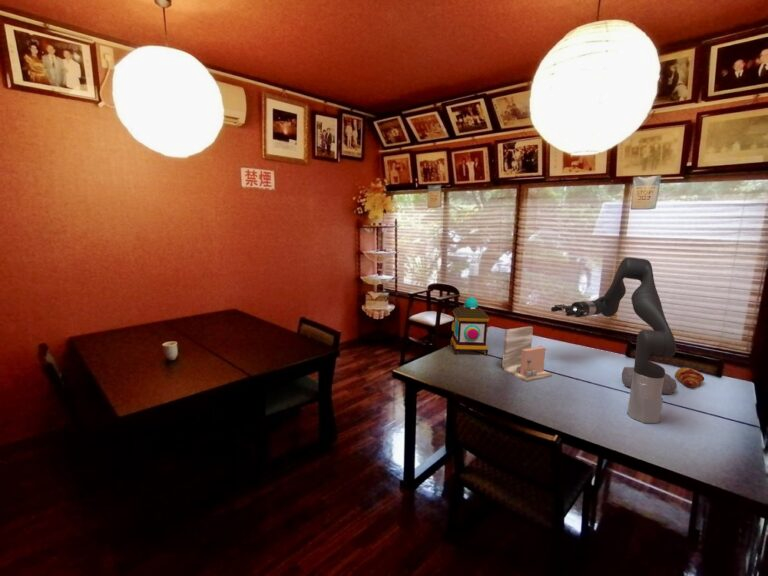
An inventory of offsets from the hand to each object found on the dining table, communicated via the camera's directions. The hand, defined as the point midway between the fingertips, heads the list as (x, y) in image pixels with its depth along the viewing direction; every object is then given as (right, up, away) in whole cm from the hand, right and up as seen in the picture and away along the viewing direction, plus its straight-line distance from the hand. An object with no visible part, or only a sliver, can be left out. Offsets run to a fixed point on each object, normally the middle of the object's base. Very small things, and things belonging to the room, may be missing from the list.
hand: (559, 311), depth 175 cm
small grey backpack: (+34, -33, -10) cm, 49 cm away
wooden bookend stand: (-14, -29, +2) cm, 33 cm away
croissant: (+58, -32, -4) cm, 66 cm away
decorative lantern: (-36, -23, +32) cm, 53 cm away
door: (-13, -29, 0) cm, 32 cm away
